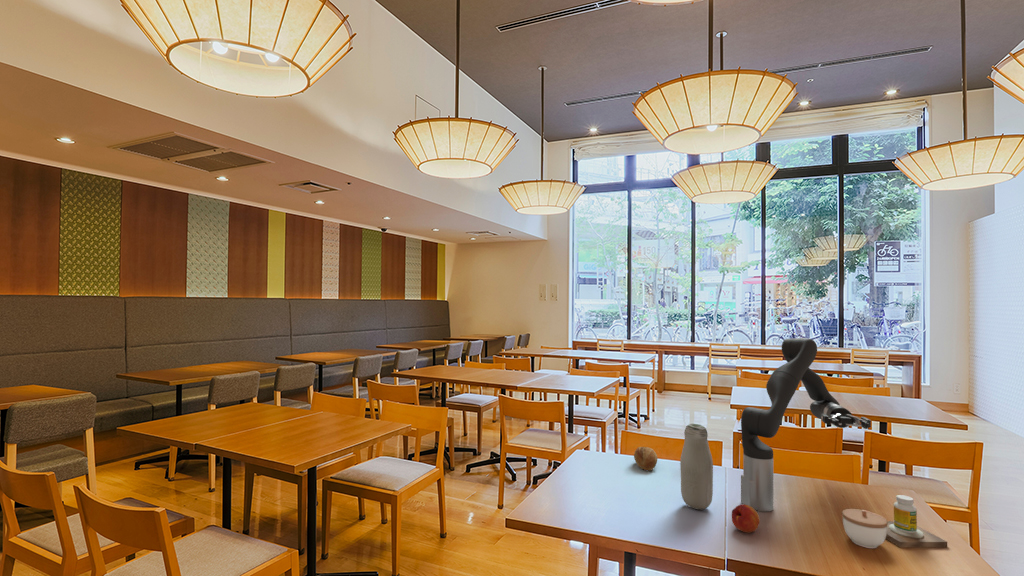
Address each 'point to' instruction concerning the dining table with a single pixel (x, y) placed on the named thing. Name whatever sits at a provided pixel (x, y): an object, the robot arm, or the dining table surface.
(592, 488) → the dining table surface
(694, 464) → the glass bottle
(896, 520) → the supplement bottle
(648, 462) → the bread roll
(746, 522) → the fruit
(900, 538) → the serving board
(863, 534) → the lidded jar
